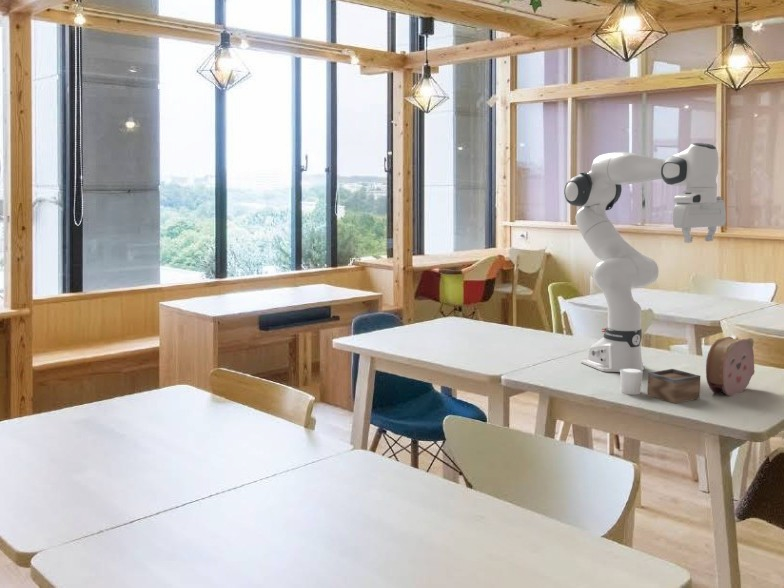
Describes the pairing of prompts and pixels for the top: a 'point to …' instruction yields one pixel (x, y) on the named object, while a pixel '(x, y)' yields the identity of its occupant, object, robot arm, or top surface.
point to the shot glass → (631, 380)
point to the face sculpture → (730, 365)
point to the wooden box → (673, 385)
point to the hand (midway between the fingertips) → (698, 241)
